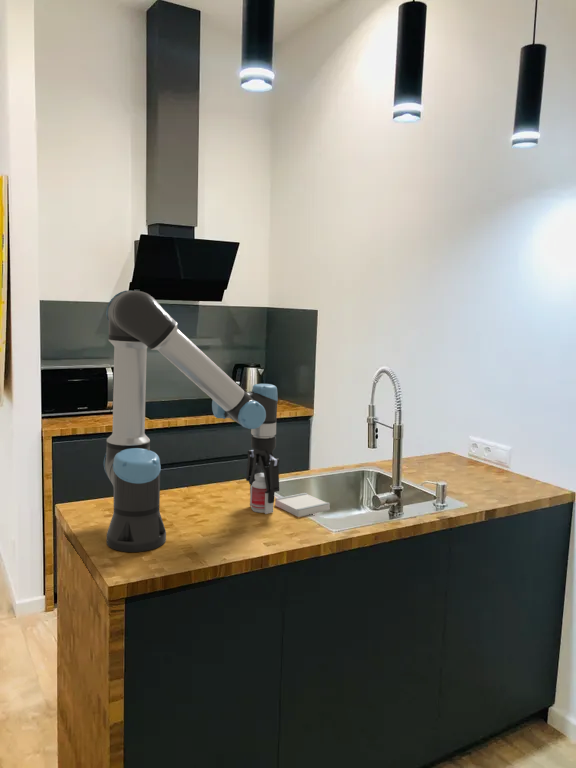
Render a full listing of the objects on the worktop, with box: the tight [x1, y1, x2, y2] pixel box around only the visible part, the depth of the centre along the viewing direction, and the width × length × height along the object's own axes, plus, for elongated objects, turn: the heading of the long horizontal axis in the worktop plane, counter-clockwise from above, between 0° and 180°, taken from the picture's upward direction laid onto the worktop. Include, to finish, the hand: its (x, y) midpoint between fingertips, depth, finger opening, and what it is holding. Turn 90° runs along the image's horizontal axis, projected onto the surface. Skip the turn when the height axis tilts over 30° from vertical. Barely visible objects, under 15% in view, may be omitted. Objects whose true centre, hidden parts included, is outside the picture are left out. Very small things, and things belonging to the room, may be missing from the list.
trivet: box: [274, 492, 331, 518], centre depth 197 cm, size 12×12×2 cm
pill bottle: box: [250, 472, 267, 514], centre depth 193 cm, size 6×6×11 cm
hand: (261, 508), depth 194 cm, fingers open, 7 cm apart
